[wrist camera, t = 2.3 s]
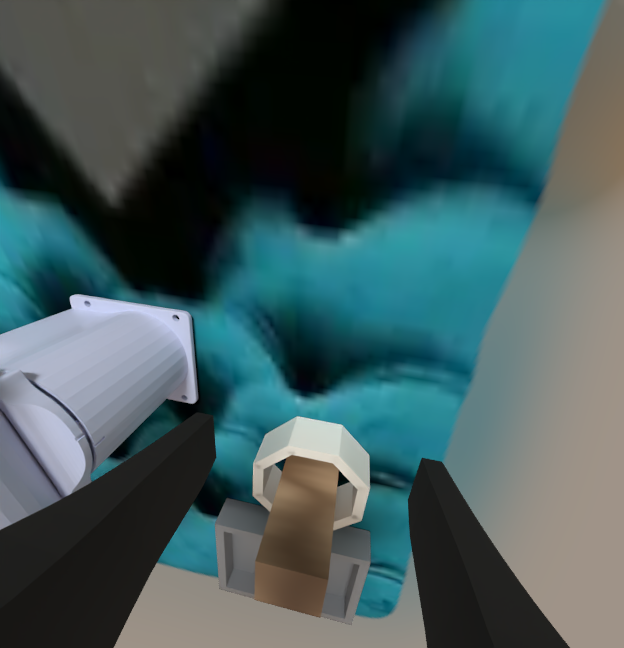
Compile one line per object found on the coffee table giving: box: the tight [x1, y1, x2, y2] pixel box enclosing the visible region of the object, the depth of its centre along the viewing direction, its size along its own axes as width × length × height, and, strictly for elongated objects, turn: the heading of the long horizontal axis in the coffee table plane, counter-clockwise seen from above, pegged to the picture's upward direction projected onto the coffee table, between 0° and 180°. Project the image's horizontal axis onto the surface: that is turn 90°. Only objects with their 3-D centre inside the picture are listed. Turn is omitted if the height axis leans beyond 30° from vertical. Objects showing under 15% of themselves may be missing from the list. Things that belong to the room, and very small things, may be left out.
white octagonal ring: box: [253, 416, 370, 530], centre depth 23 cm, size 9×9×3 cm
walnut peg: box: [254, 455, 339, 617], centre depth 20 cm, size 4×4×9 cm
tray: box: [215, 498, 371, 625], centre depth 28 cm, size 14×11×2 cm
